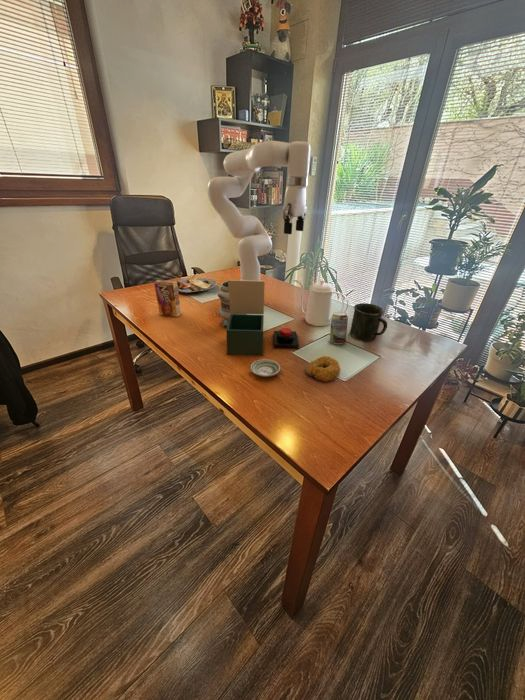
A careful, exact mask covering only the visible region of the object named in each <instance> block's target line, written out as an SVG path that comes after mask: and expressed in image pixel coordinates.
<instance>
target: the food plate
mask: <svg viewBox="0 0 525 700" xmlns="http://www.w3.org/2000/svg"><path fill="white" fill-rule="evenodd" d="M176 281H177V286H178V292H180V293H199V292H203V291H206V290H210V289H213V288H215V287H217V281H216V280H213V279H210V278H205V277H196V276H195V275H194V276H192V277H189V278H183V279H178V280H176Z"/></svg>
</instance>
